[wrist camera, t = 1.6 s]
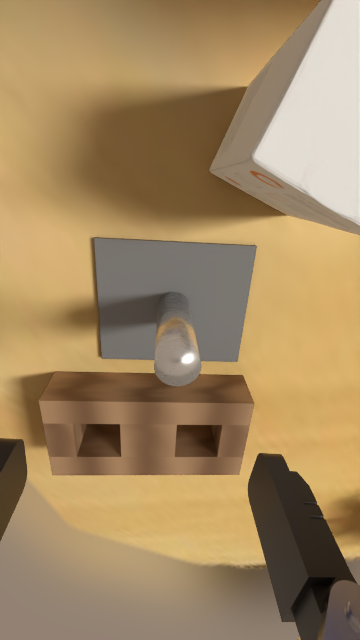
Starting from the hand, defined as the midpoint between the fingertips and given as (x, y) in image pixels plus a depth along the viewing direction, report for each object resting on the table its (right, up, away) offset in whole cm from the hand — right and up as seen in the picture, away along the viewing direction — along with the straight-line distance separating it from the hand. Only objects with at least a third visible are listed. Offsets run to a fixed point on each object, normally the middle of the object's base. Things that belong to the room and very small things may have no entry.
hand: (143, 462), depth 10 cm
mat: (+1, +6, +18) cm, 19 cm away
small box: (+8, +18, +13) cm, 24 cm away
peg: (+1, +6, +18) cm, 19 cm away
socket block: (-2, -5, +23) cm, 24 cm away
